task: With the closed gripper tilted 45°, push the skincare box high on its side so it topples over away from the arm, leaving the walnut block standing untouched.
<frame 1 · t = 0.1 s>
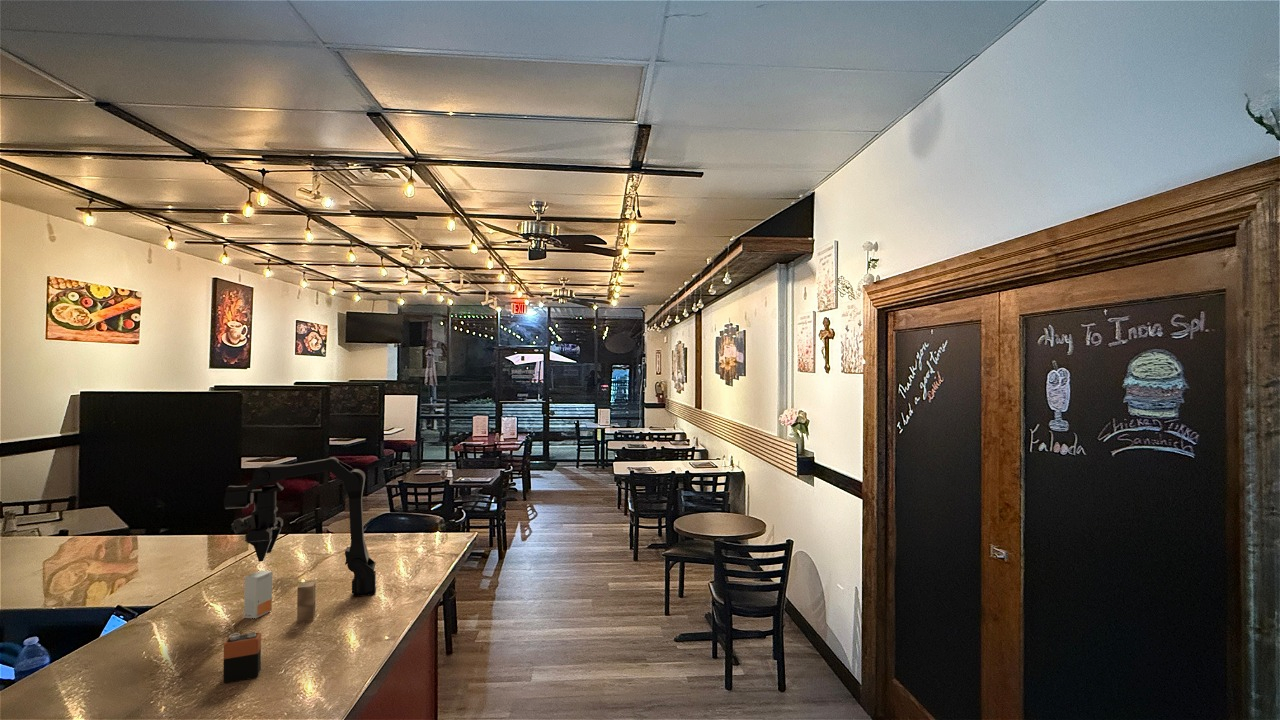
hand: (264, 557, 184), 15 cm above the counter, tool pointing down, fingers open, 9 cm apart
walnut block: (306, 619, 172), on the counter
skincare box: (258, 615, 176), on the counter
battery: (242, 677, 140), on the counter
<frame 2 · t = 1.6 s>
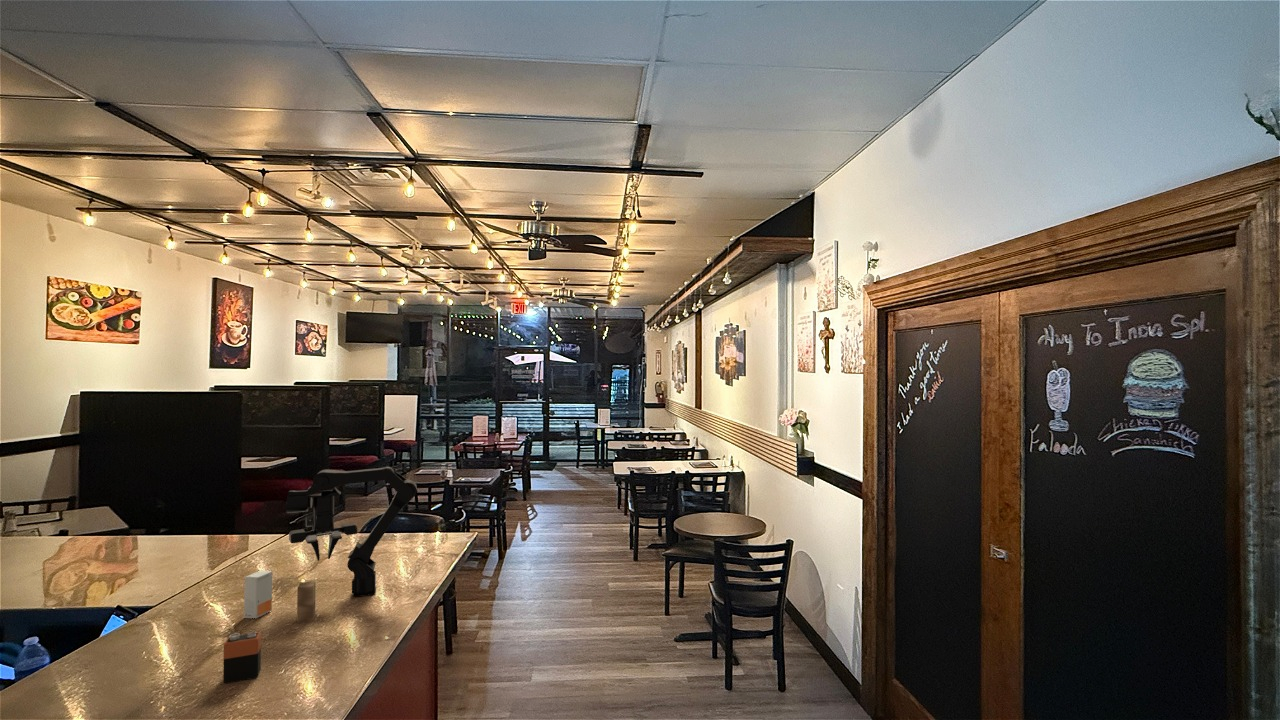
hand: (323, 559, 189), 12 cm above the counter, tool pointing down, fingers open, 3 cm apart
nothing on the counter moved.
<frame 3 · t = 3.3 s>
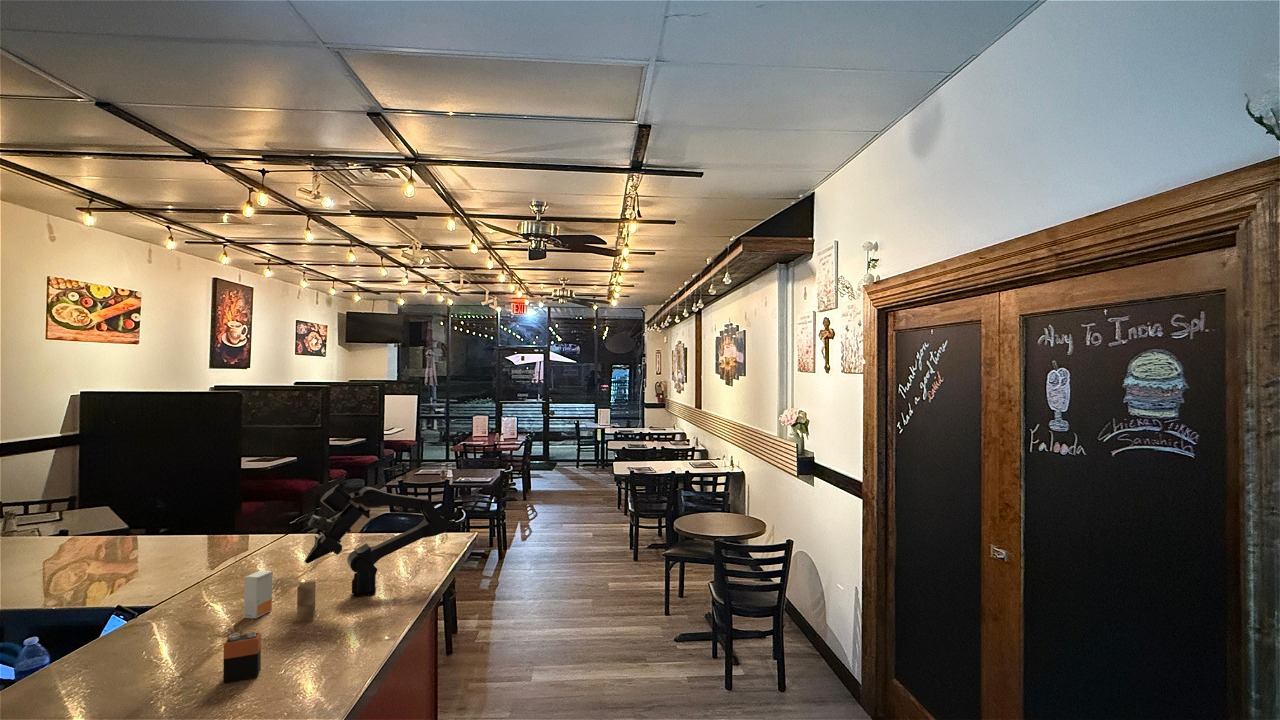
hand: (305, 562, 184), 13 cm above the counter, tool tilted 45°, fingers closed
nothing on the counter moved.
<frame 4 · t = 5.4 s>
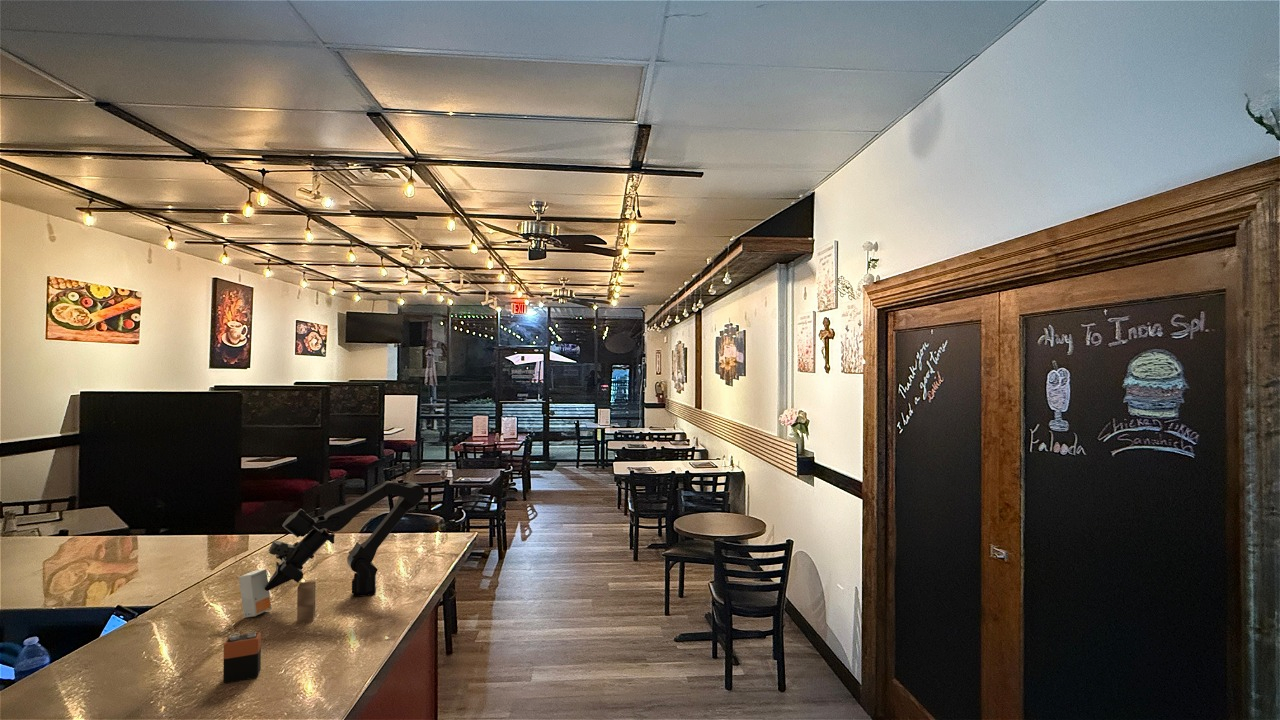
hand: (265, 589, 177), 7 cm above the counter, tool tilted 45°, fingers closed
skincare box: (258, 613, 176), on the counter, touching gripper
everything else where it was.
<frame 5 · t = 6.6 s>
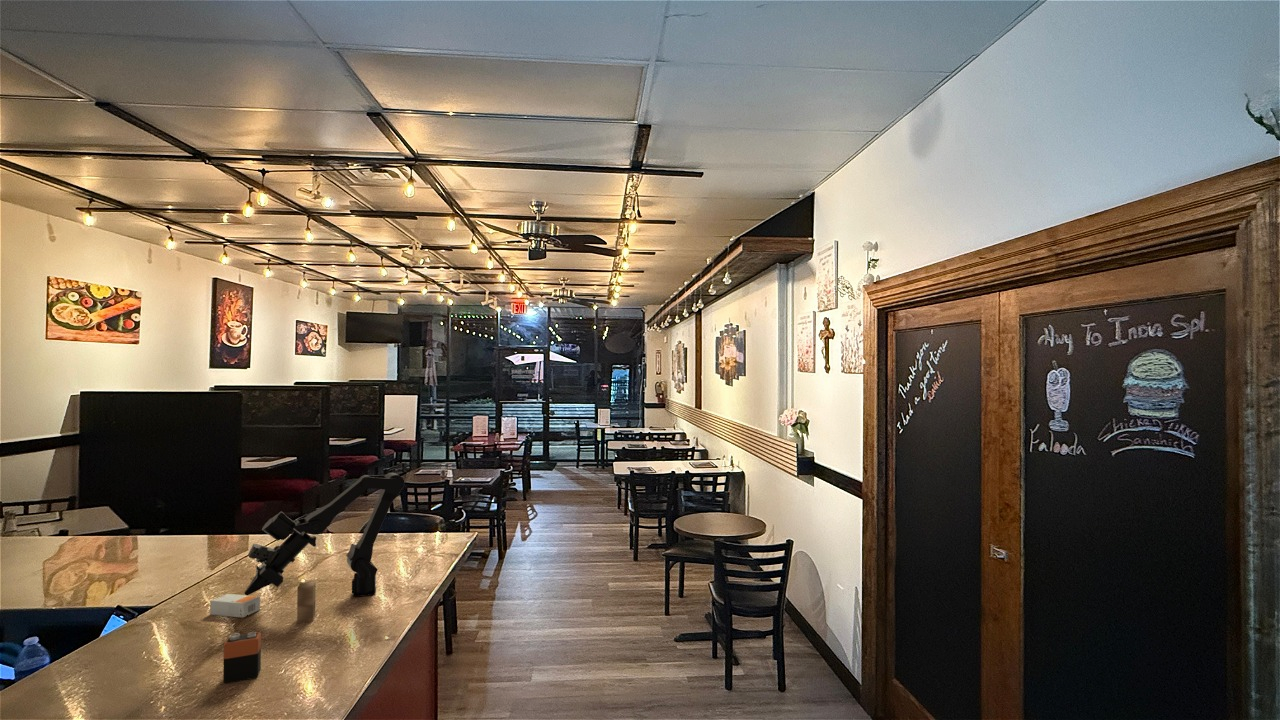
hand: (245, 594, 174), 7 cm above the counter, tool tilted 45°, fingers closed
skincare box: (252, 606, 177), point 2 cm above the counter
everything else where it was.
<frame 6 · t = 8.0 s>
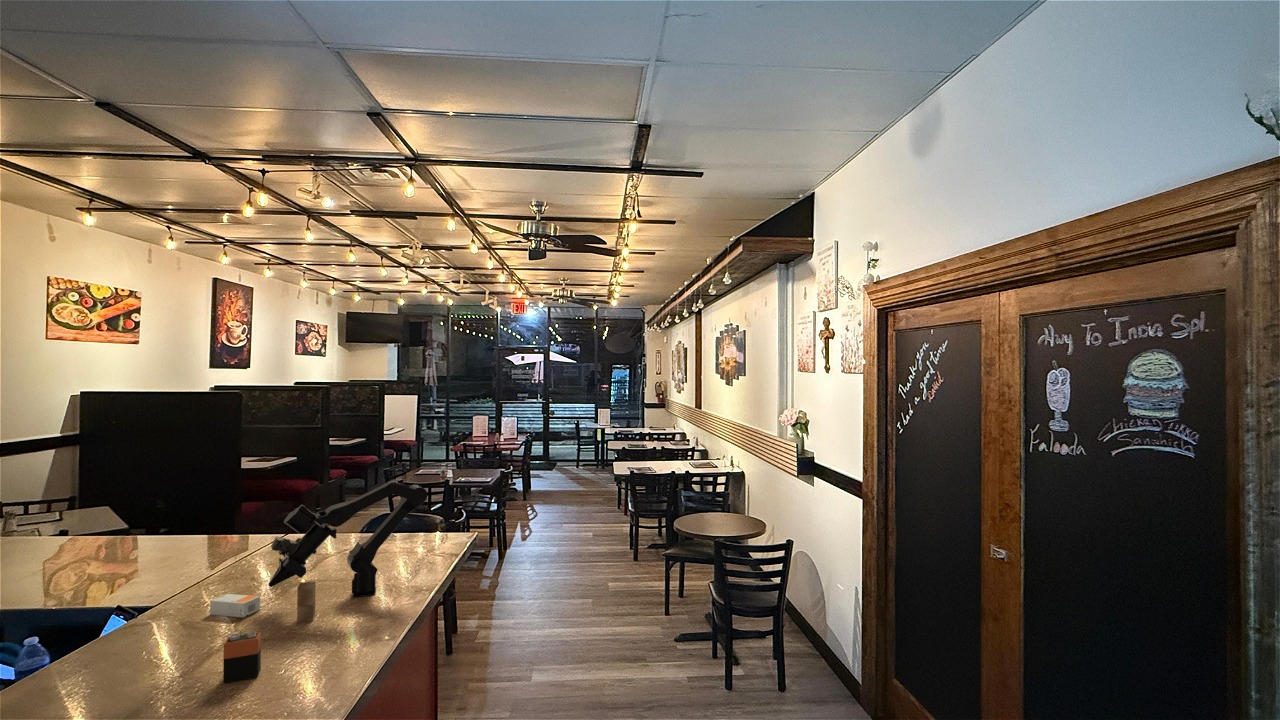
hand: (269, 585, 178), 8 cm above the counter, tool tilted 45°, fingers closed
nothing on the counter moved.
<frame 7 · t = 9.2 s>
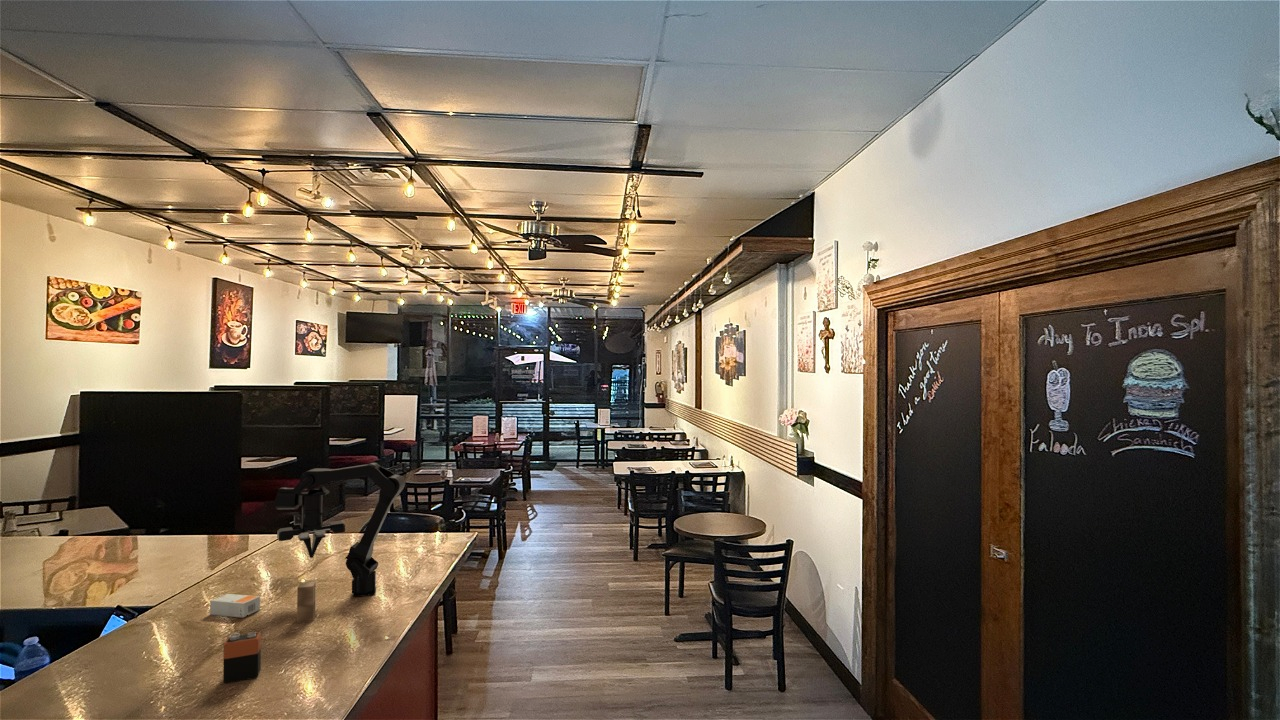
hand: (311, 557, 192), 12 cm above the counter, tool pointing down, fingers closed
nothing on the counter moved.
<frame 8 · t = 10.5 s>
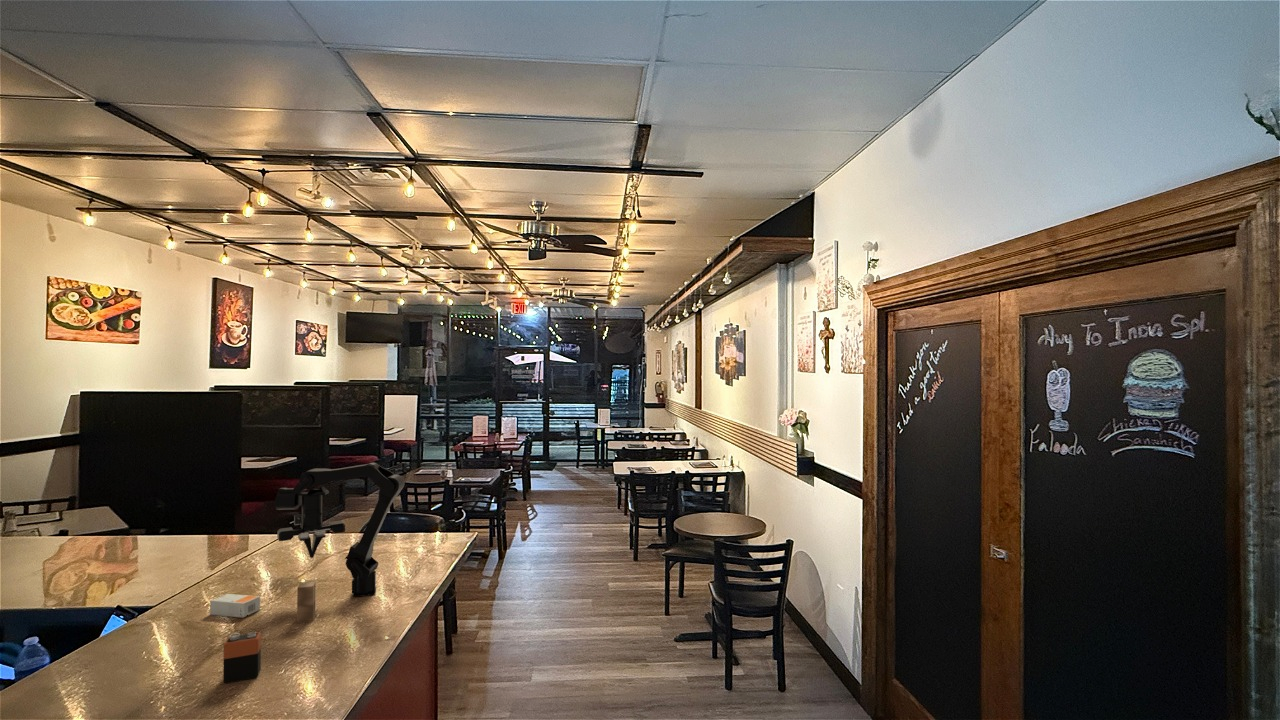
hand: (311, 557, 192), 12 cm above the counter, tool pointing down, fingers closed
nothing on the counter moved.
at the end: skincare box tilted 91°; skincare box inside the target area (2.5 cm from its centre), point 2.2 cm above the counter; walnut block moved 0.0 cm from its start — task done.
